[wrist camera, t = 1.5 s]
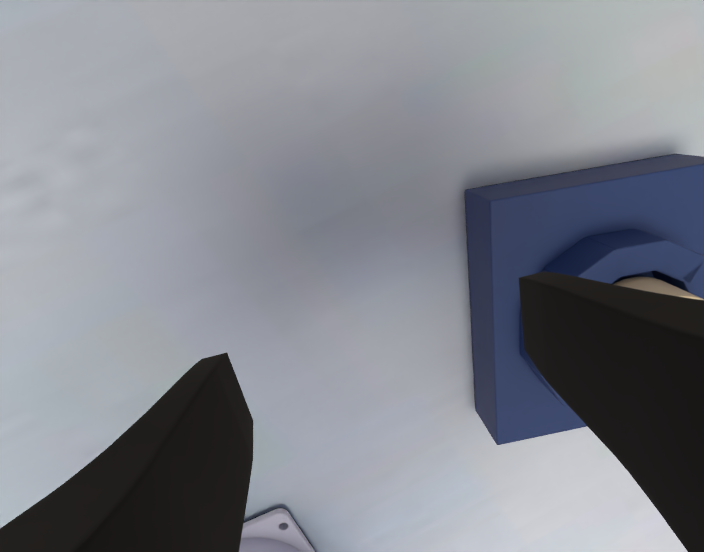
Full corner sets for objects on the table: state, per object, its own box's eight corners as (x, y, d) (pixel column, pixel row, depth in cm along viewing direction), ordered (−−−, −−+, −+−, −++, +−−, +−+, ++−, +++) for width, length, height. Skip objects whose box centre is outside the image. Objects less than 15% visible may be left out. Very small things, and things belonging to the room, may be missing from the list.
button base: (649, 375, 24) (723, 429, 20) (475, 410, 24) (514, 474, 19) (675, 153, 20) (777, 163, 16) (464, 189, 19) (511, 210, 15)
